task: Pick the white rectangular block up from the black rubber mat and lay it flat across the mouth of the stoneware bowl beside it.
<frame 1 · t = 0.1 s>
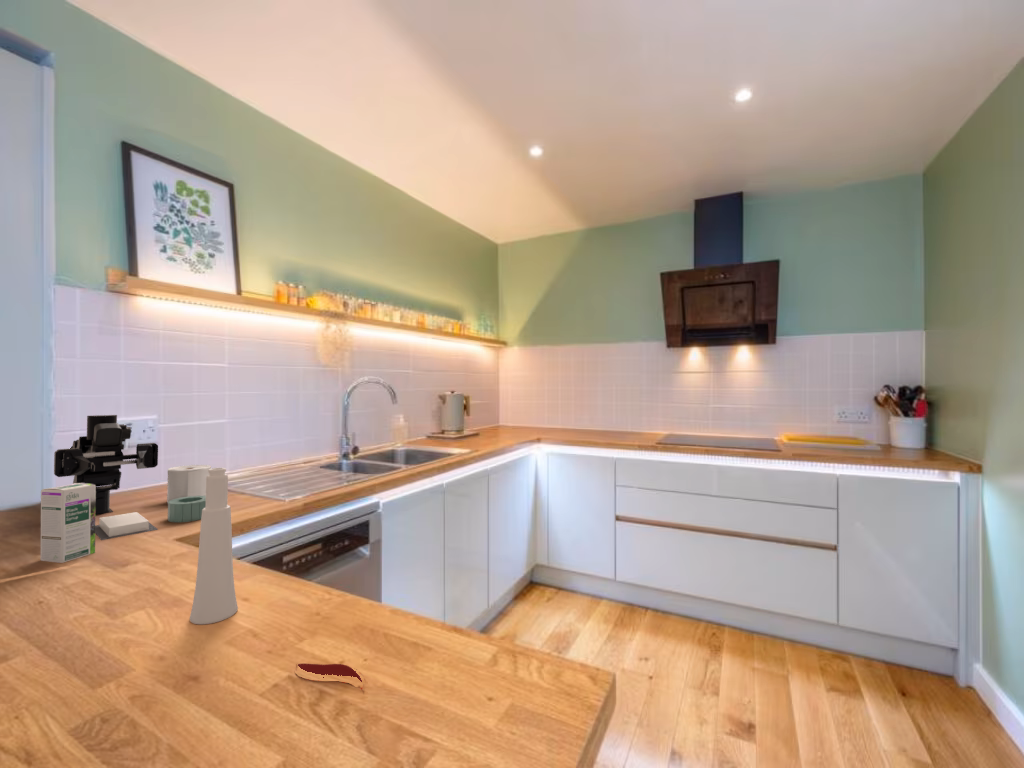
hand: (116, 462, 103), 17 cm above the countertop, tool horizontal, fingers open, 9 cm apart
syrup box: (67, 559, 88), on the countertop
mat: (123, 529, 106), on the countertop
cosmetic bottle: (214, 615, 67), on the countertop
cayenne pepper: (331, 681, 53), on the countertop
toilet tissue: (190, 501, 134), on the countertop
bowl: (189, 518, 115), on the countertop
white rectangular block: (123, 527, 106), resting on mat
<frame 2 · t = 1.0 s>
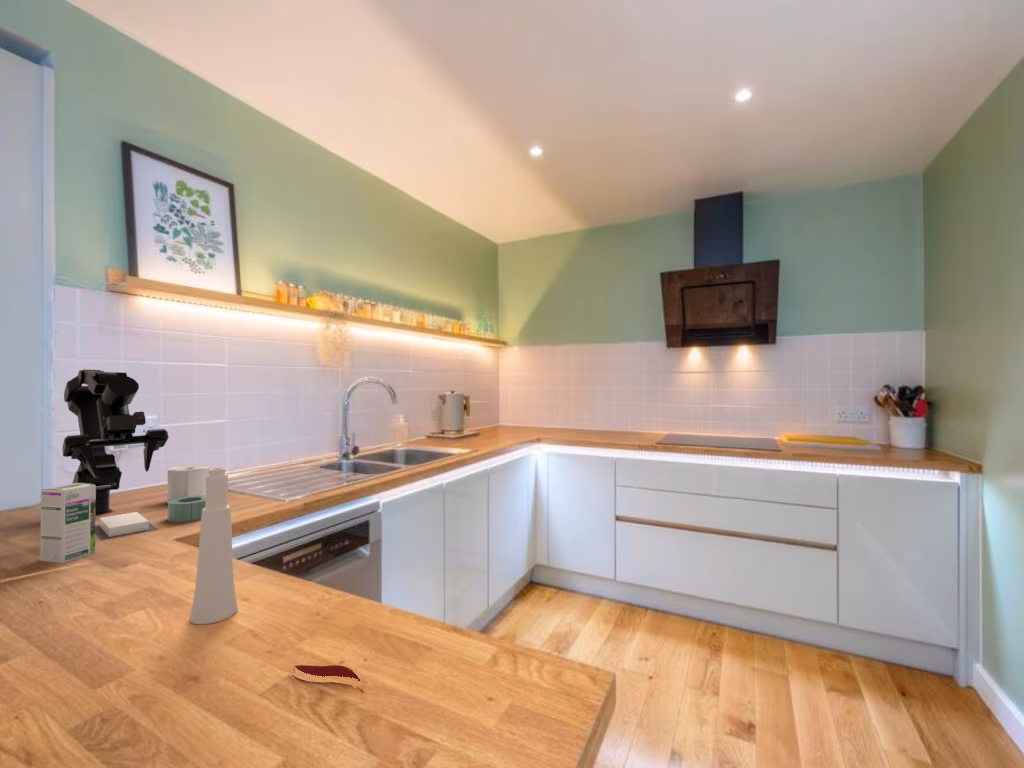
hand: (122, 473, 105), 14 cm above the countertop, tool tilted 30°, fingers open, 9 cm apart
nothing on the countertop moved.
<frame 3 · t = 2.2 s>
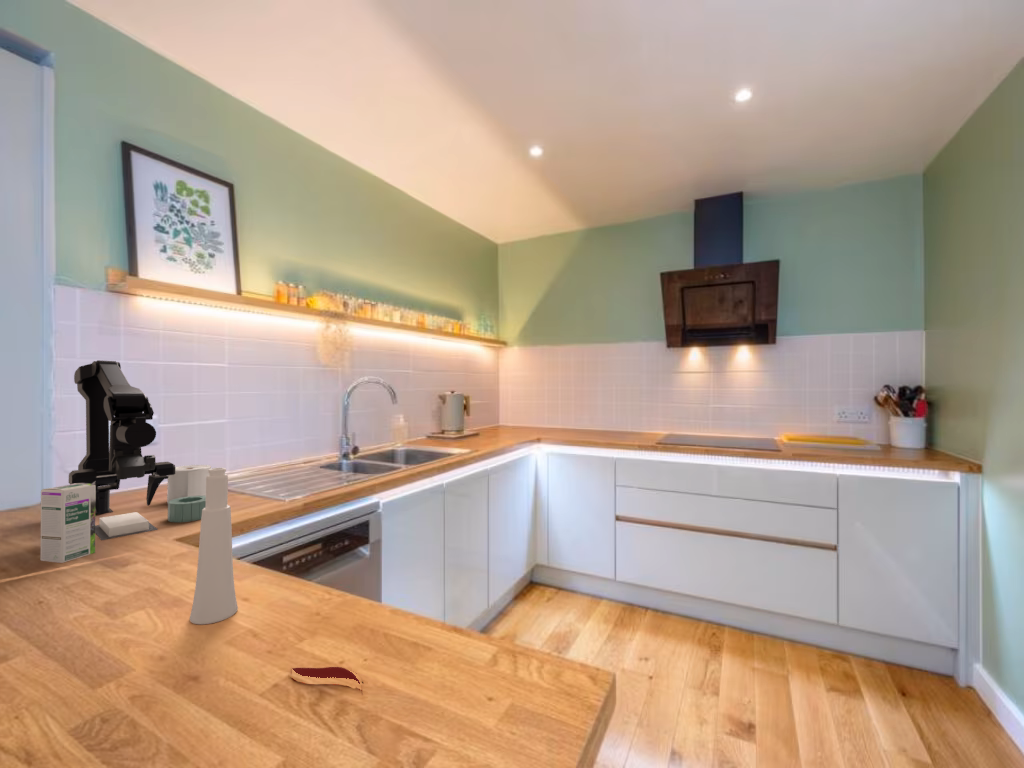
hand: (123, 508, 106), 5 cm above the countertop, tool pointing down, fingers open, 9 cm apart
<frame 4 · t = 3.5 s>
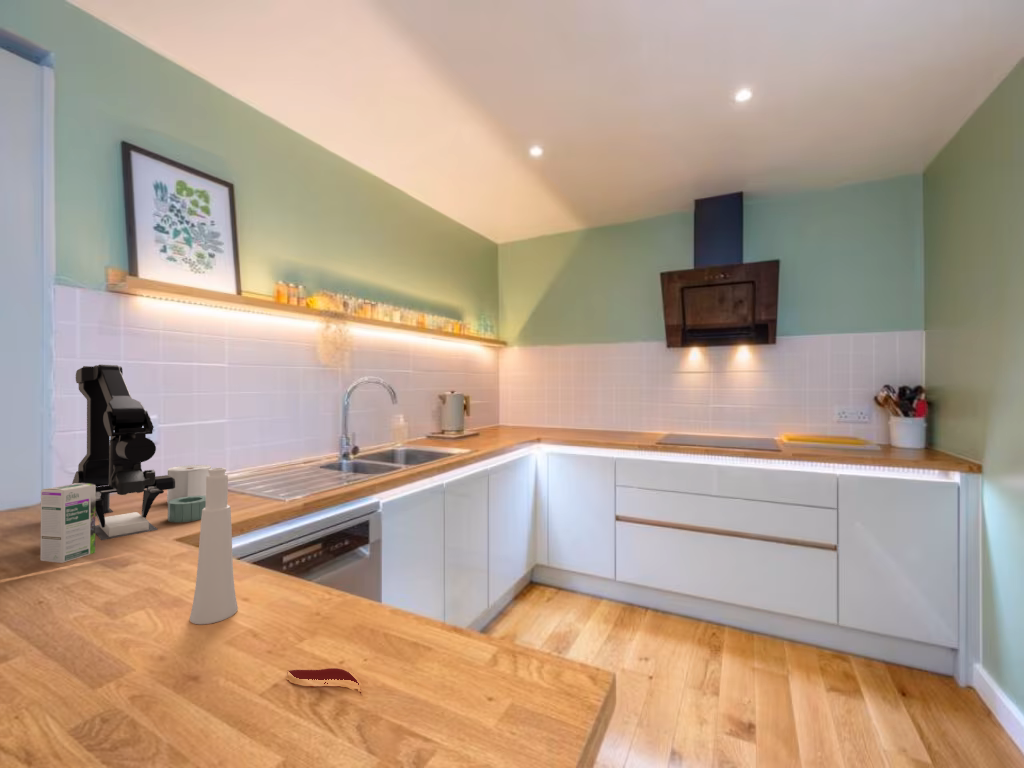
hand: (123, 523, 106), 2 cm above the countertop, tool pointing down, fingers closed on white rectangular block, 7 cm apart
white rectangular block: (123, 527, 106), resting on mat, touching gripper
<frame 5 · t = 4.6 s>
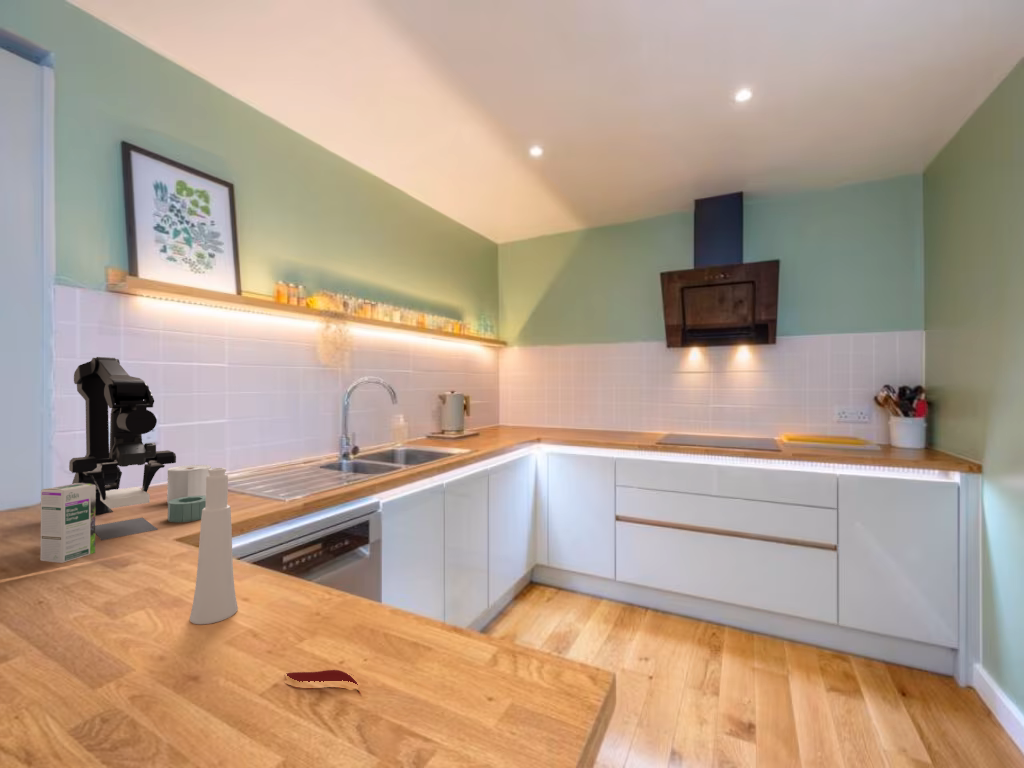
hand: (124, 496, 106), 8 cm above the countertop, tool pointing down, fingers closed on white rectangular block, 7 cm apart
white rectangular block: (124, 501, 106), point 7 cm above the countertop, touching gripper
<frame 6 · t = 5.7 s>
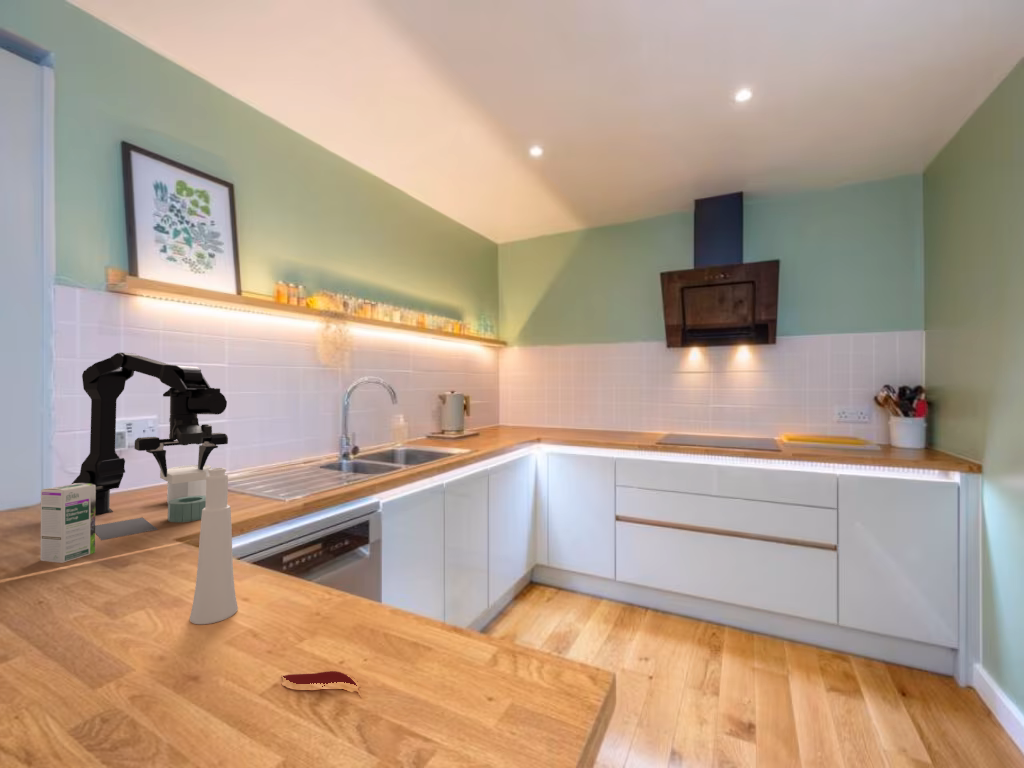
hand: (183, 474, 114), 12 cm above the countertop, tool pointing down, fingers closed on white rectangular block, 7 cm apart
white rectangular block: (182, 478, 114), point 11 cm above the countertop, touching gripper
when the fingers open (7 cm above the countertop, at t = 7.5 s): white rectangular block drops 1 cm, resting on bowl.
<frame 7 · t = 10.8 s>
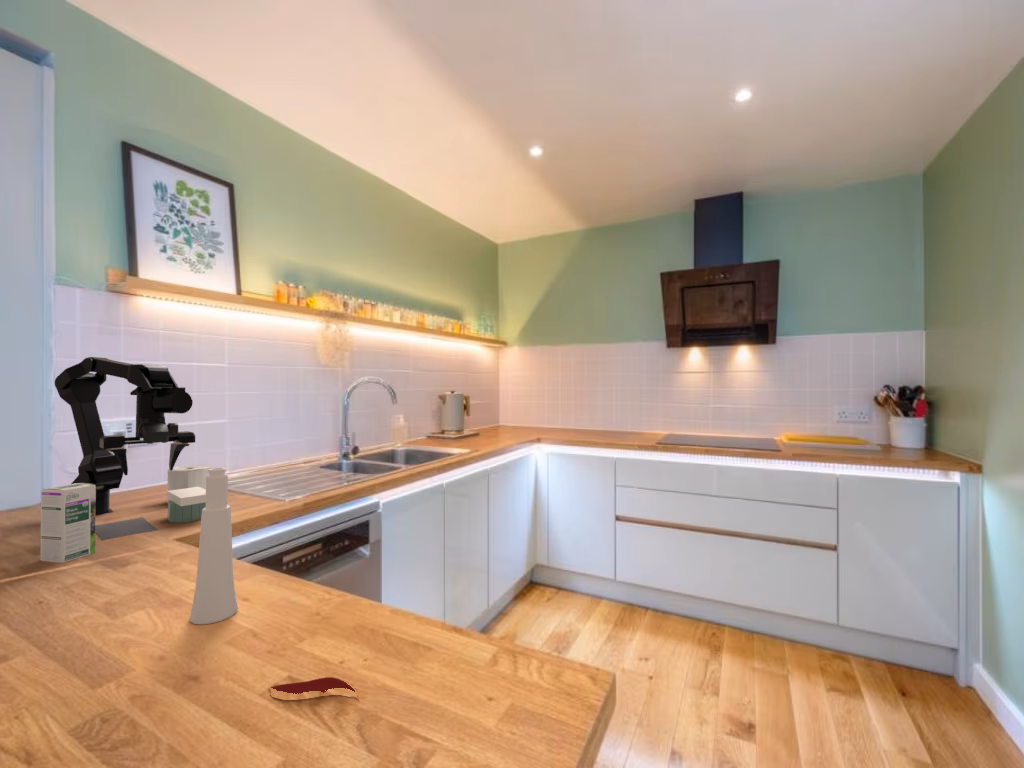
hand: (149, 472, 115), 12 cm above the countertop, tool pointing down, fingers open, 9 cm apart
cayenne pepper: (315, 697, 50), on the countertop
white rectangular block: (190, 499, 115), point 5 cm above the countertop, touching bowl
everything else where it was.
at the end: white rectangular block 0.1 cm off-centre on the bowl, point 5.0 cm above the bowl's base; white rectangular block tilted 0°; the gripper is holding nothing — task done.
